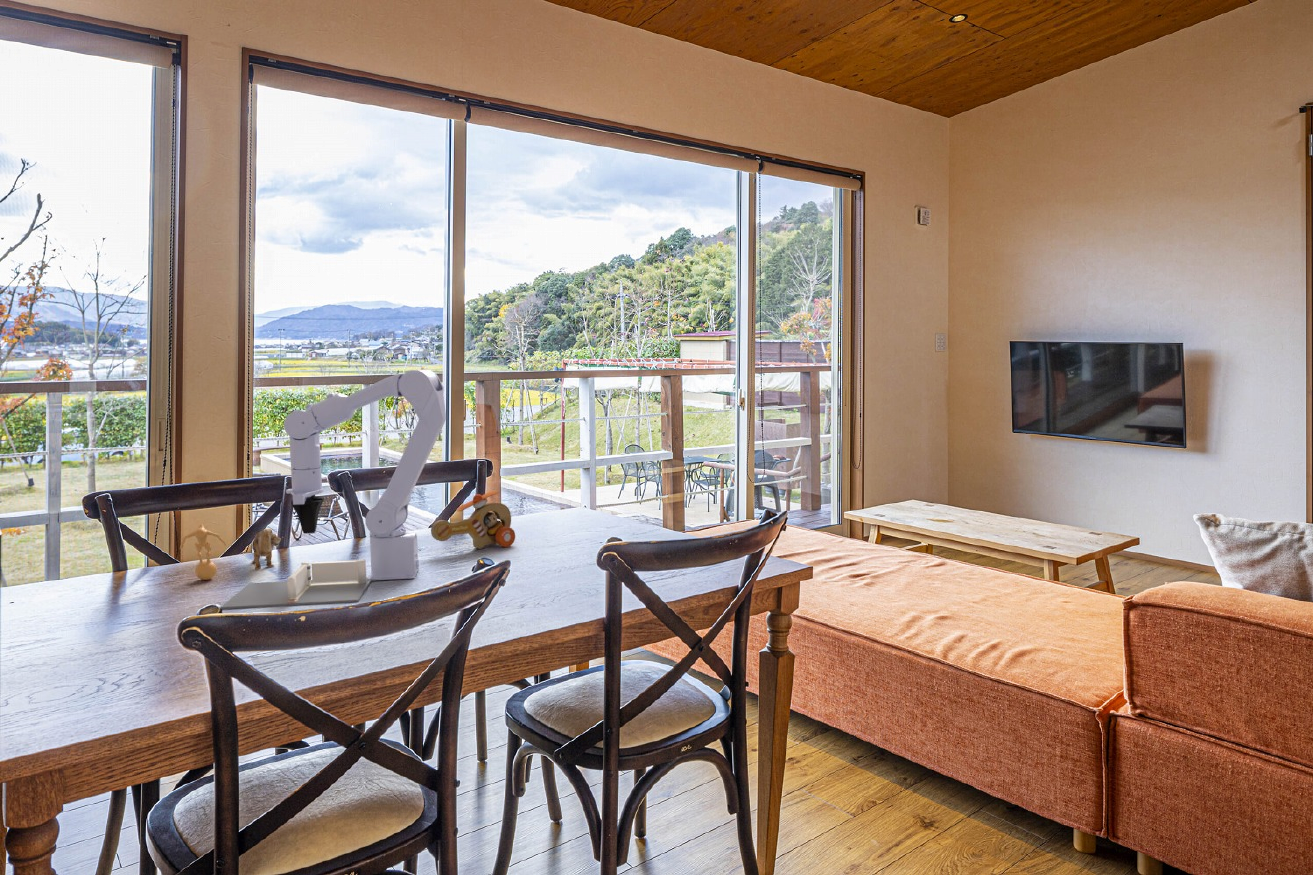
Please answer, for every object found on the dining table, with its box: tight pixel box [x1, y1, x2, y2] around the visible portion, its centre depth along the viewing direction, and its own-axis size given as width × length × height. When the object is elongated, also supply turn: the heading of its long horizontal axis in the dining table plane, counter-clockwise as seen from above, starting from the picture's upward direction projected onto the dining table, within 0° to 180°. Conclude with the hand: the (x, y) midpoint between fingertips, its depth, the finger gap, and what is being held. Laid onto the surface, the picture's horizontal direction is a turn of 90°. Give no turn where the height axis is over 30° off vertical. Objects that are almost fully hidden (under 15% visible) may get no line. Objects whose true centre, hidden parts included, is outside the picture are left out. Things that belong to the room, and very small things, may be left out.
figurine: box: [179, 524, 227, 581], centre depth 168 cm, size 8×6×12 cm
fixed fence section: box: [300, 559, 367, 586], centre depth 164 cm, size 12×2×5 cm, turn 99°
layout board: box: [220, 576, 372, 610], centre depth 160 cm, size 24×16×1 cm, turn 99°
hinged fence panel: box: [286, 565, 308, 599], centre depth 157 cm, size 10×1×4 cm, turn 10°
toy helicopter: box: [430, 489, 516, 550], centre depth 194 cm, size 8×21×14 cm, turn 134°
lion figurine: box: [251, 528, 282, 571], centre depth 181 cm, size 15×5×9 cm, turn 37°
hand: (309, 532), depth 170 cm, fingers closed
